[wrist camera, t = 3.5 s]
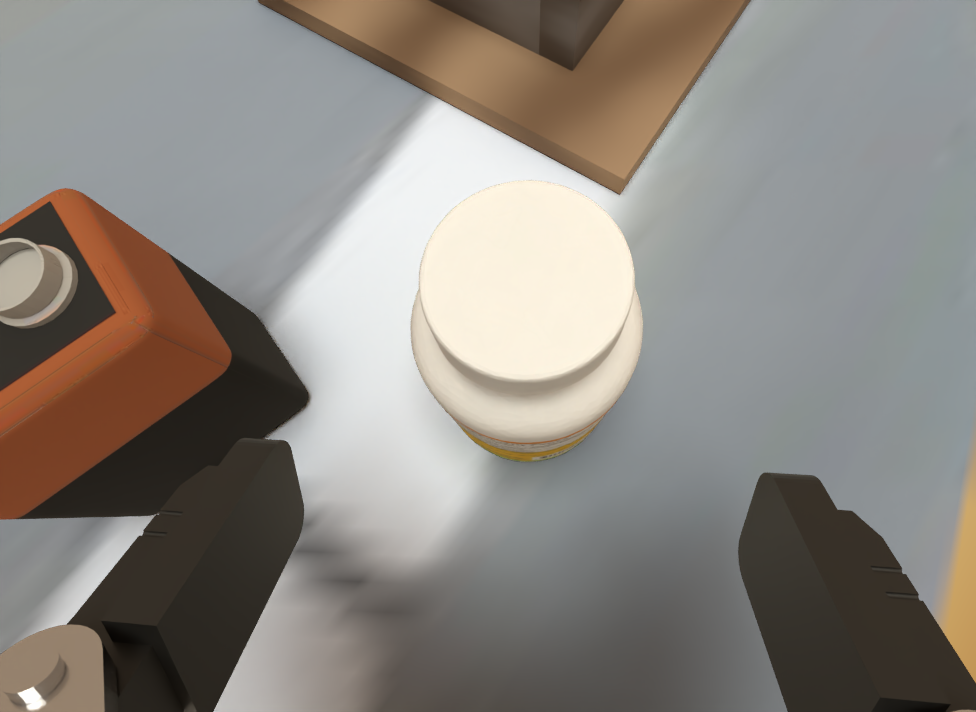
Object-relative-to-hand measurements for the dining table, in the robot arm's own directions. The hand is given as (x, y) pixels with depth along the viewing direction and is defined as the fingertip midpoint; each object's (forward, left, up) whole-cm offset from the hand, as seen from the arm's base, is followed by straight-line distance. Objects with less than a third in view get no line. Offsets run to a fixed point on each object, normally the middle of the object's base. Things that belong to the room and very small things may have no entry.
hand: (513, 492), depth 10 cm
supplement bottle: (-2, +3, -9) cm, 10 cm away
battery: (-11, -4, -9) cm, 15 cm away
